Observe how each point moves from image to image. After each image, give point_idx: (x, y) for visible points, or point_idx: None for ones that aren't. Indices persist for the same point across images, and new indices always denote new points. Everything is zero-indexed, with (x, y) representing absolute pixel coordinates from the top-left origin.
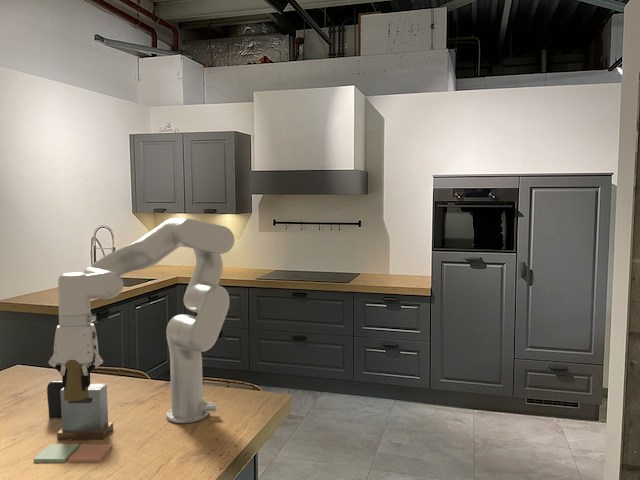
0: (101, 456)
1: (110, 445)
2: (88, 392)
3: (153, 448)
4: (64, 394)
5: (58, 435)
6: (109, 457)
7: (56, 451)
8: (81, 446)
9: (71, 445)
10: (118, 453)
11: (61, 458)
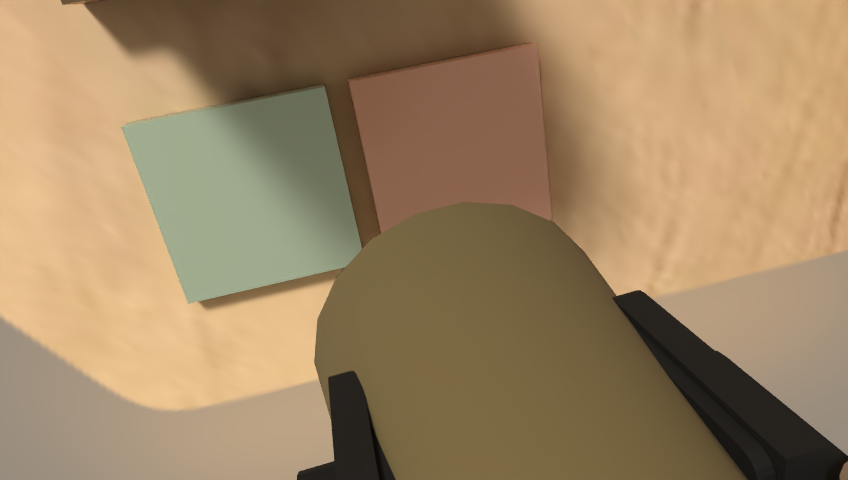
0: (549, 196)
1: (536, 59)
2: (597, 270)
3: (772, 11)
4: None
5: (82, 2)
6: (572, 160)
7: (251, 200)
8: (362, 109)
9: (287, 109)
10: (601, 108)
11: (344, 263)
